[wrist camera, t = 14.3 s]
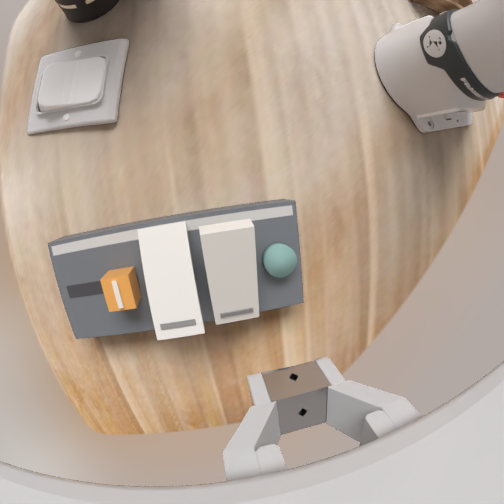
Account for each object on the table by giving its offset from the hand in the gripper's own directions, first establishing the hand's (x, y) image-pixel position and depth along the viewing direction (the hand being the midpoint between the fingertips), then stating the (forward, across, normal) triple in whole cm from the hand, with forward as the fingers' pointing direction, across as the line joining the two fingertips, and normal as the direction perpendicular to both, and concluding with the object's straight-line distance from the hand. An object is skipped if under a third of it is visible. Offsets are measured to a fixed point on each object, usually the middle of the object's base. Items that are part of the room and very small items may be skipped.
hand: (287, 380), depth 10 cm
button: (+19, -4, +1) cm, 20 cm away
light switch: (+24, +16, -22) cm, 36 cm away
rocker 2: (+18, 0, +1) cm, 18 cm away
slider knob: (+19, +11, +1) cm, 22 cm away
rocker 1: (+18, +6, +1) cm, 19 cm away
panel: (+23, +6, +1) cm, 24 cm away
